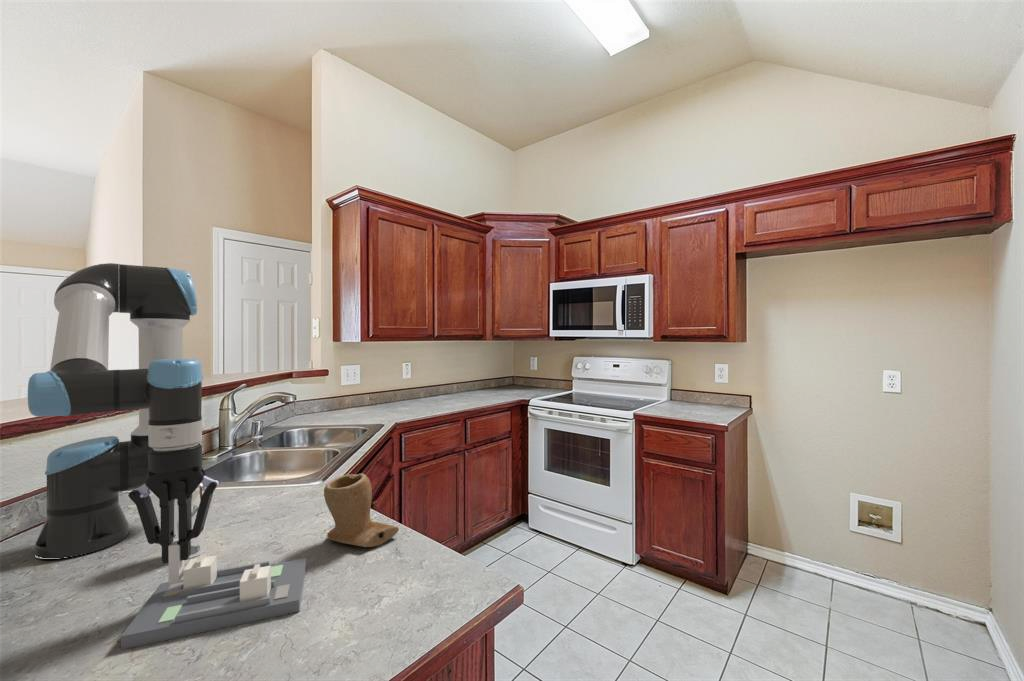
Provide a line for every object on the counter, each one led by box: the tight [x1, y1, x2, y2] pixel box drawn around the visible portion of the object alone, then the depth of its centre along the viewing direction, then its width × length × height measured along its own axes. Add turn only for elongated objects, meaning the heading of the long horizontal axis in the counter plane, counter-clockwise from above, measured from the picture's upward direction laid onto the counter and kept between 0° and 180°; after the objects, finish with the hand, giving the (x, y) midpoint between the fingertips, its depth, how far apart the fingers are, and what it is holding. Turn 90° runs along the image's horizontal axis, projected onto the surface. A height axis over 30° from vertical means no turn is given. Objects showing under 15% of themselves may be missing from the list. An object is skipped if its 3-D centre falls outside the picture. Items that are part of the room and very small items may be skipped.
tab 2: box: [240, 564, 271, 602], centre depth 73 cm, size 4×4×5 cm
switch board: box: [120, 557, 307, 651], centre depth 75 cm, size 24×15×3 cm, turn 112°
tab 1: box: [182, 553, 218, 589], centre depth 77 cm, size 4×4×5 cm
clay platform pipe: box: [323, 473, 400, 548], centre depth 98 cm, size 15×12×15 cm
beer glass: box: [174, 483, 211, 560], centre depth 93 cm, size 7×7×15 cm
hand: (176, 578), depth 76 cm, fingers closed
